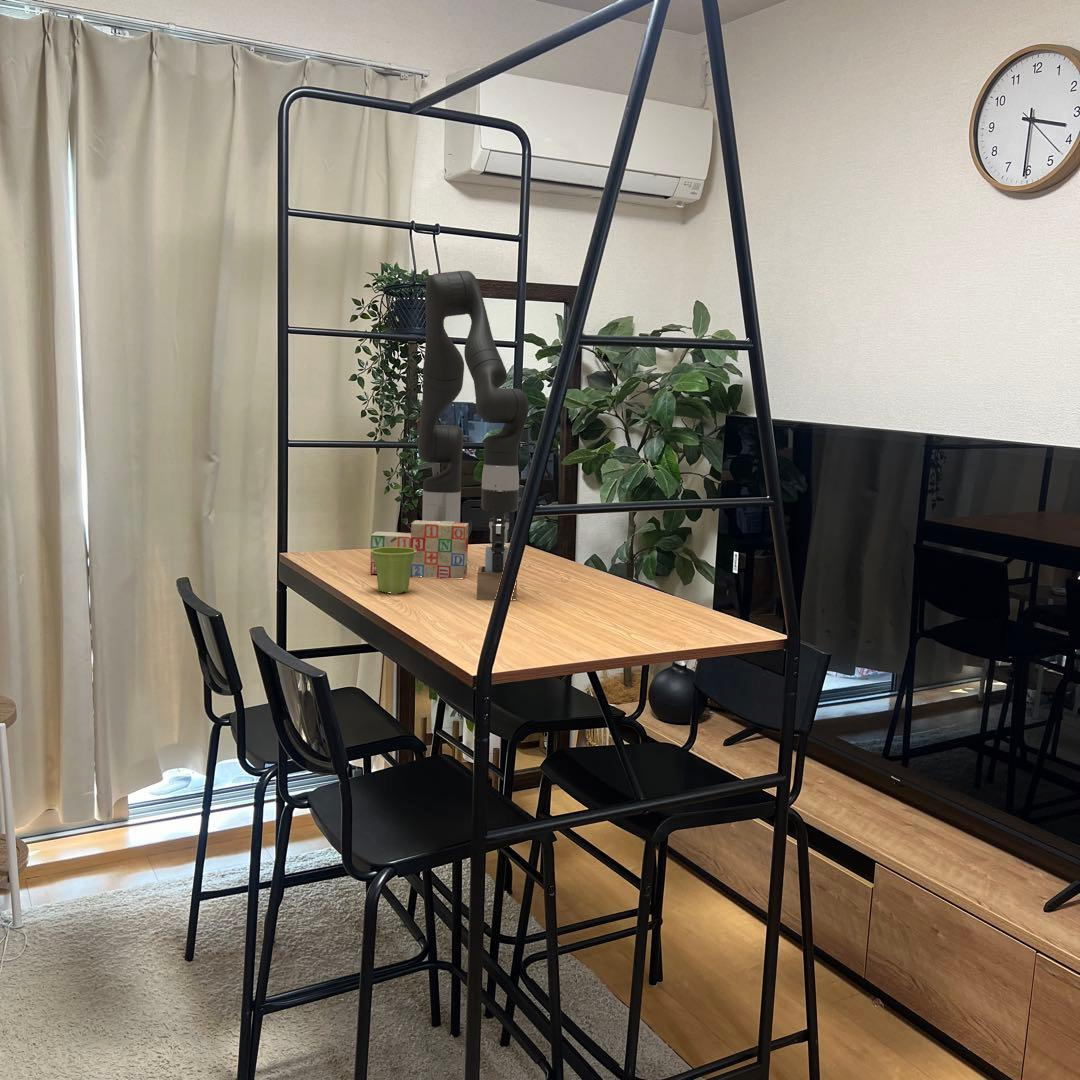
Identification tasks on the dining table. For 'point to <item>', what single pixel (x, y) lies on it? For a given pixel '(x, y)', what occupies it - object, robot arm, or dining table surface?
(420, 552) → the stack of blocks
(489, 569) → the bluegrey cube
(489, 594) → the walnut base
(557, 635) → the dining table surface
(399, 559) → the plant pot
